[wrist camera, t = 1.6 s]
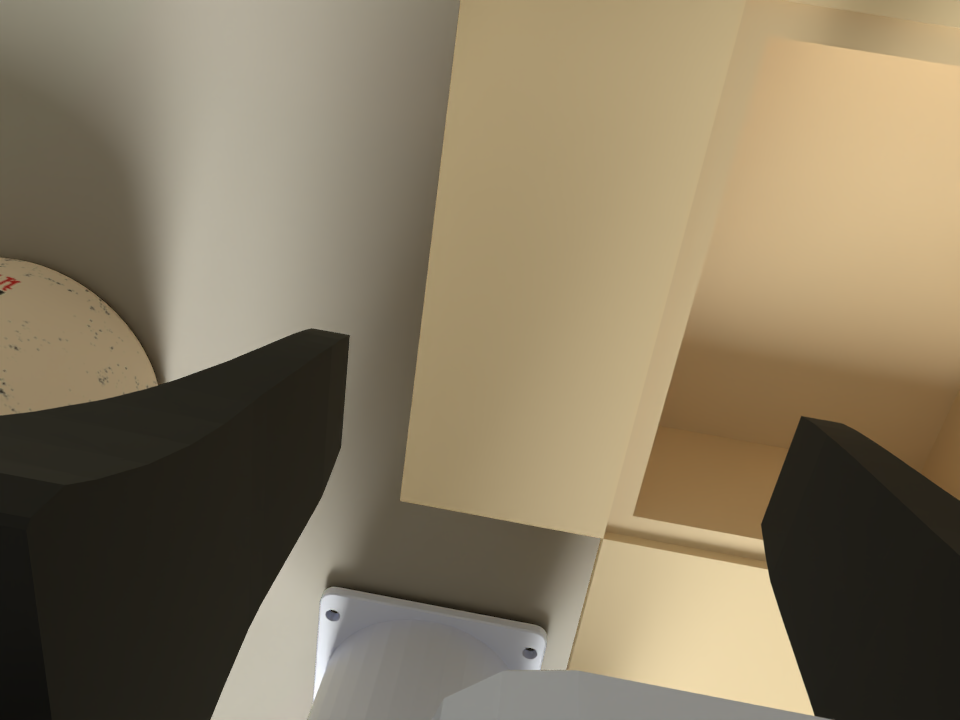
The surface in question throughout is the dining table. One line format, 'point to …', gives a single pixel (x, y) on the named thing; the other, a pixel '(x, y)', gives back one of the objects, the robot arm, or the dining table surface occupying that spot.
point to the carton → (687, 295)
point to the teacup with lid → (62, 343)
